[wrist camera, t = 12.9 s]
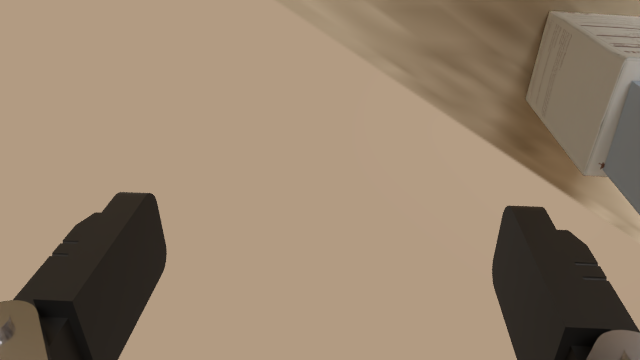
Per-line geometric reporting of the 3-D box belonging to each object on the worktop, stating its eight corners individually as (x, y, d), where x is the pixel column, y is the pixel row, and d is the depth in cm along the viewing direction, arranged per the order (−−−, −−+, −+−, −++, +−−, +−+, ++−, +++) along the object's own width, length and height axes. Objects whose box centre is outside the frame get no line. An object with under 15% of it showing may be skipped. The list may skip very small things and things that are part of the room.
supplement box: (614, 107, 41) (705, 190, 30) (522, 99, 41) (578, 178, 30) (651, 14, 37) (770, 69, 26) (548, 6, 37) (624, 57, 26)
